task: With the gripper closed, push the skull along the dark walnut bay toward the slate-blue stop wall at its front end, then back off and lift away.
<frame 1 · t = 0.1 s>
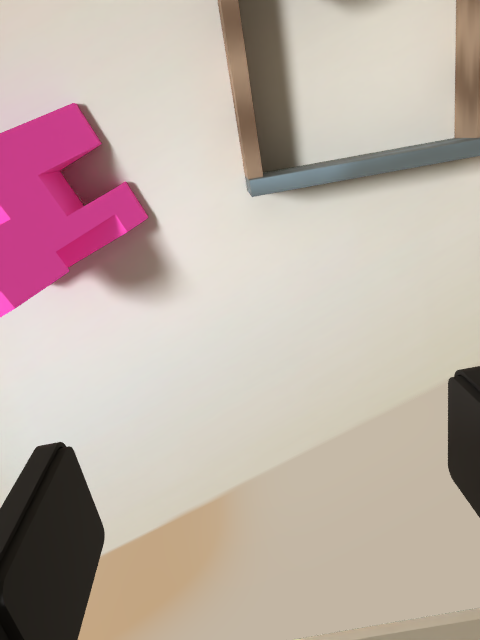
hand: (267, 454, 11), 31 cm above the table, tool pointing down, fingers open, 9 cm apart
bracket: (57, 199, 38), on the table
bay: (346, 7, 34), on the table
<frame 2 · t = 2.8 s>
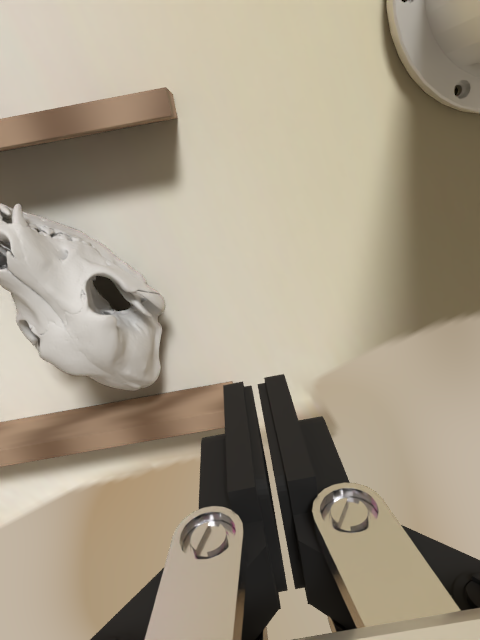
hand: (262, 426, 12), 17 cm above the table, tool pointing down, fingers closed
bay: (21, 299, 28), on the table
skull: (99, 283, 28), on the table
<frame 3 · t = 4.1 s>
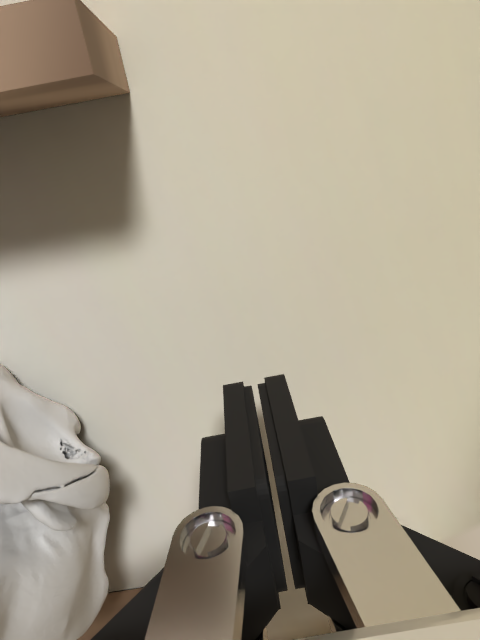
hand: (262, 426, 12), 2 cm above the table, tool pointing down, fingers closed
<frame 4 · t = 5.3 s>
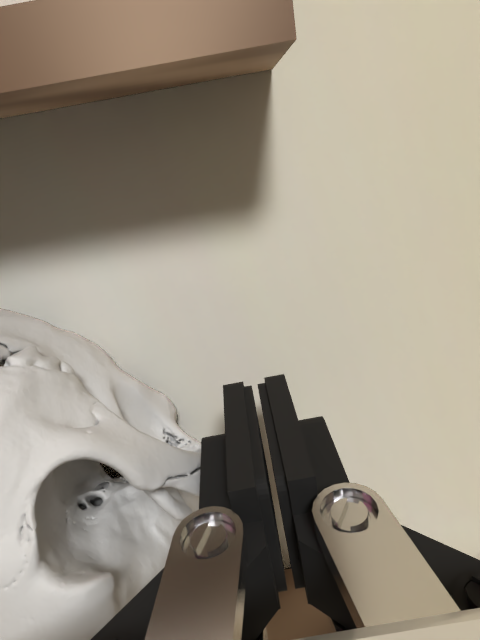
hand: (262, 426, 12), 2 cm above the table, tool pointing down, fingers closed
skull: (83, 406, 14), on the table, touching gripper
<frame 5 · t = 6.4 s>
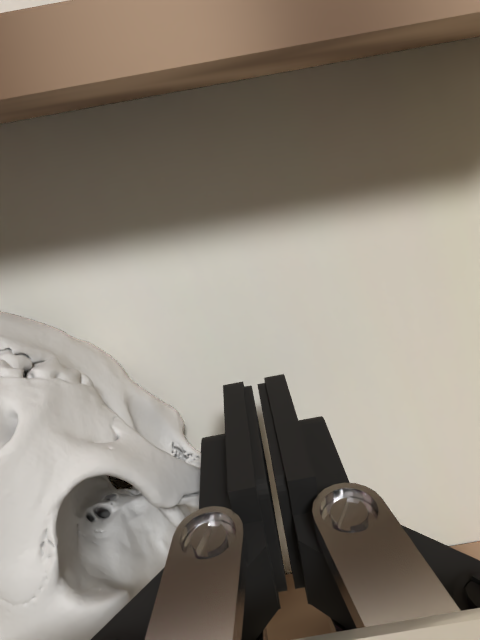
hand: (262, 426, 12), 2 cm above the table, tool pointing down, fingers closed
bay: (126, 408, 14), on the table
skull: (89, 415, 14), on the table, touching gripper
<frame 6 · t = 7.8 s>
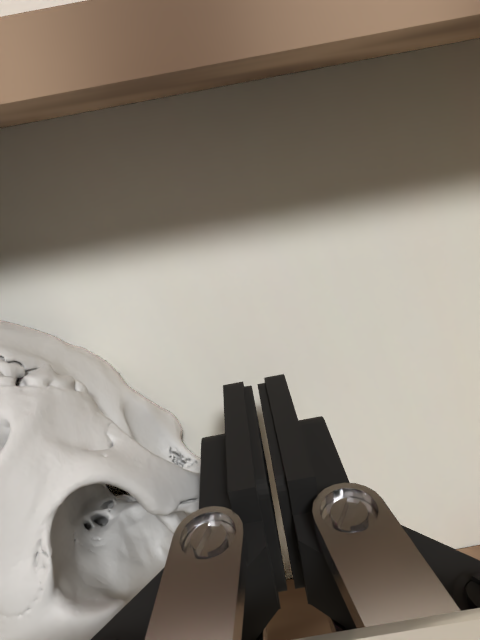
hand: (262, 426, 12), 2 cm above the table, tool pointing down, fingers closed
bay: (248, 391, 14), on the table
skull: (86, 421, 14), on the table, touching gripper
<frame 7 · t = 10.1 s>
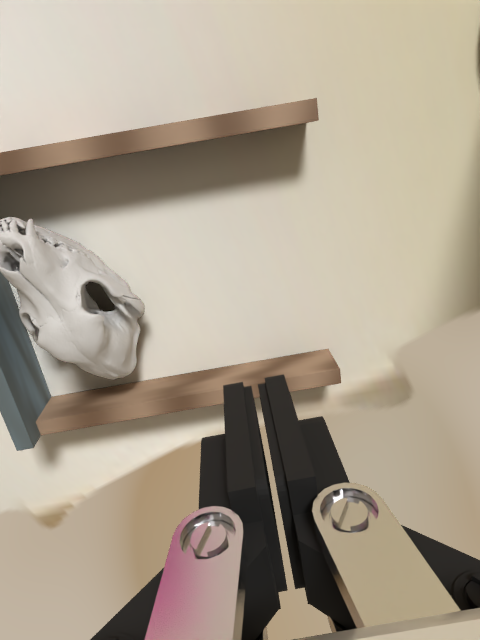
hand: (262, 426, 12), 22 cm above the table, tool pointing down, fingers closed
bay: (158, 274, 33), on the table
skull: (90, 287, 33), on the table
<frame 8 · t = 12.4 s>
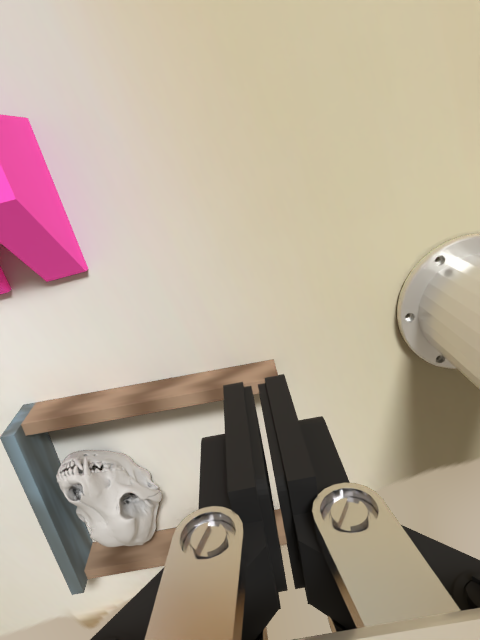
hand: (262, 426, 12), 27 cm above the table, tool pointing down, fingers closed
bracket: (0, 214, 36), on the table
bay: (171, 463, 46), on the table
skull: (121, 472, 46), on the table
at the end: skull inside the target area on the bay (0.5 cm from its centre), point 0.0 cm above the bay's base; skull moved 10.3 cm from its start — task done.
